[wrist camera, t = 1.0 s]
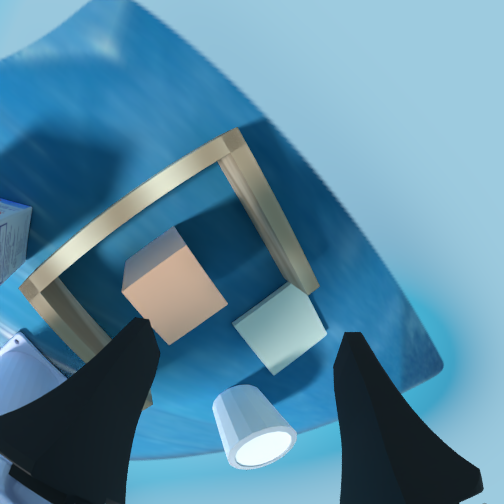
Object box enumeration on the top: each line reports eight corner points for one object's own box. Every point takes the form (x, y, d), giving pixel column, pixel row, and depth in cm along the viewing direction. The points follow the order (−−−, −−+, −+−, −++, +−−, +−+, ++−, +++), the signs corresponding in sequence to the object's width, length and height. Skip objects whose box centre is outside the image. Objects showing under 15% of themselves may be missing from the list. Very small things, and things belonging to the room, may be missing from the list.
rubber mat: (271, 372, 28) (273, 375, 27) (231, 322, 25) (233, 326, 24) (324, 331, 29) (327, 334, 29) (295, 275, 26) (298, 278, 25)
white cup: (270, 374, 28) (304, 418, 22) (264, 417, 30) (291, 458, 23) (205, 385, 25) (228, 437, 19) (207, 428, 27) (227, 476, 21)
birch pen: (138, 380, 23) (142, 410, 19) (36, 268, 17) (18, 288, 14) (294, 270, 26) (319, 286, 22) (219, 134, 20) (237, 127, 17)
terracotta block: (160, 304, 22) (169, 345, 16) (125, 260, 20) (121, 291, 15) (205, 272, 23) (228, 304, 17) (173, 226, 21) (186, 244, 15)
